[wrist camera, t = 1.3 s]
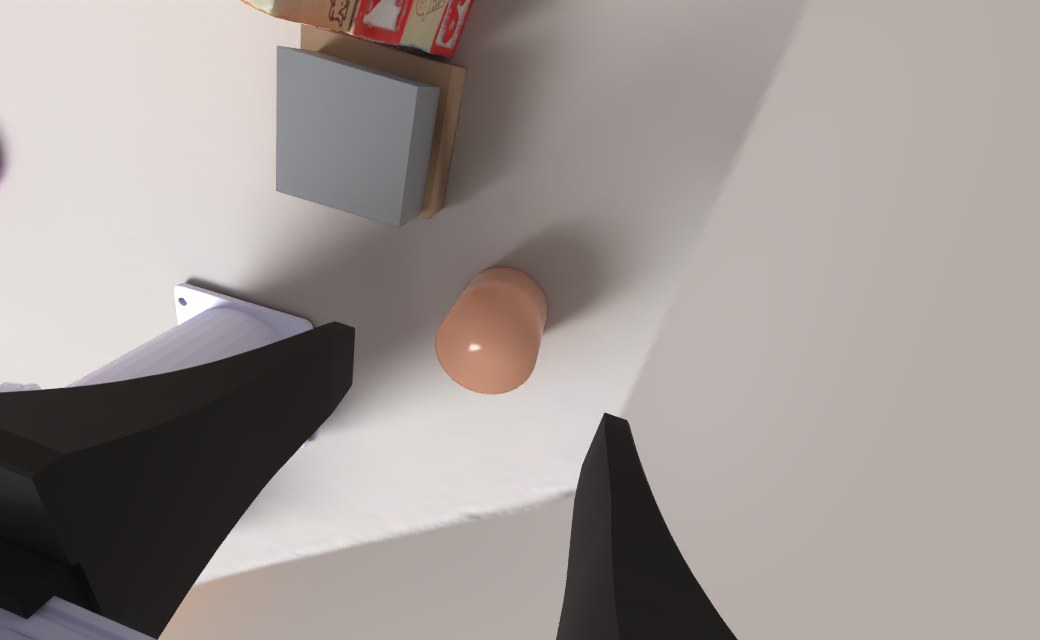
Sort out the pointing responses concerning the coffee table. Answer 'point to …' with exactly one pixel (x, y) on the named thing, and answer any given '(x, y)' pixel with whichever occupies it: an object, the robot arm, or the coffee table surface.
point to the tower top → (353, 135)
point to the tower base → (411, 68)
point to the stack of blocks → (381, 19)
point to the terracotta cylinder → (493, 331)
